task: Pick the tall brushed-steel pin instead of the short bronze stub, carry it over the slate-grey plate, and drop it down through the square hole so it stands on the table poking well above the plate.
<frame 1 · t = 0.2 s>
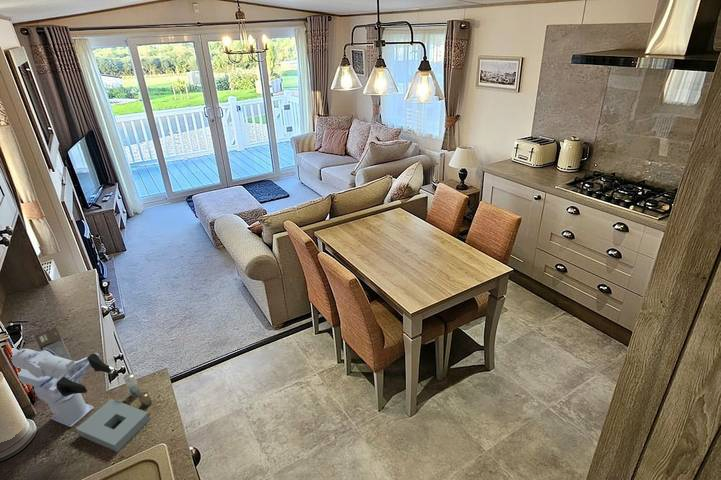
hand: (97, 379, 114), 21 cm above the table, tool horizontal, fingers open, 7 cm apart
hole plate: (115, 427, 125), on the table
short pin: (146, 404, 133), on the table
coffee box: (65, 371, 148), on the table
long pin: (136, 394, 137), on the table
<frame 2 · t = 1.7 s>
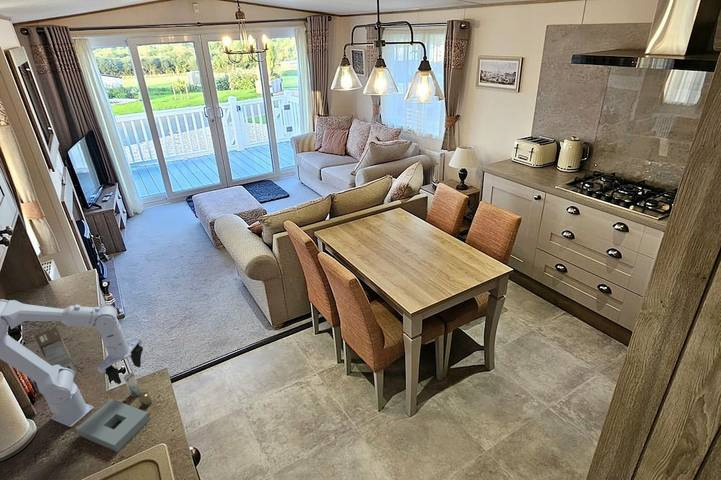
hand: (128, 374, 133), 9 cm above the table, tool pointing down, fingers open, 7 cm apart
nothing on the table moved.
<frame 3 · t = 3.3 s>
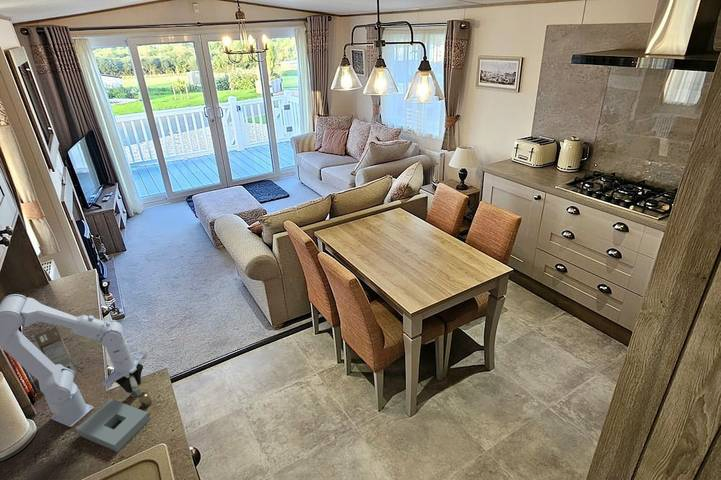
hand: (133, 387, 135), 3 cm above the table, tool pointing down, fingers closed on long pin, 3 cm apart
long pin: (136, 394, 137), on the table, touching gripper
everything else where it was.
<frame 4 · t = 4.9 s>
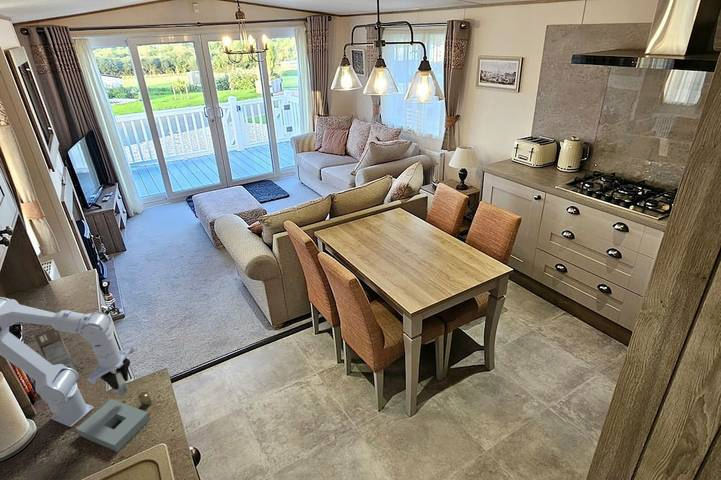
hand: (120, 384, 128), 10 cm above the table, tool pointing down, fingers closed on long pin, 3 cm apart
long pin: (123, 391, 129), point 7 cm above the table, touching gripper
everything else where it was.
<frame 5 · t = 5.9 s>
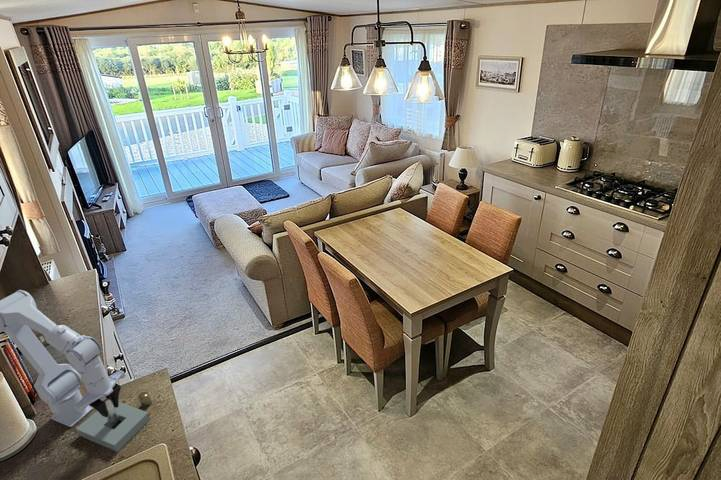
hand: (110, 410, 121), 8 cm above the table, tool pointing down, fingers closed on long pin, 3 cm apart
long pin: (113, 418, 123), point 4 cm above the table, touching gripper
everything else where it was.
when the fingers open (4 cm above the table, at t = 6.7 s): long pin drops 1 cm, resting in hole plate.
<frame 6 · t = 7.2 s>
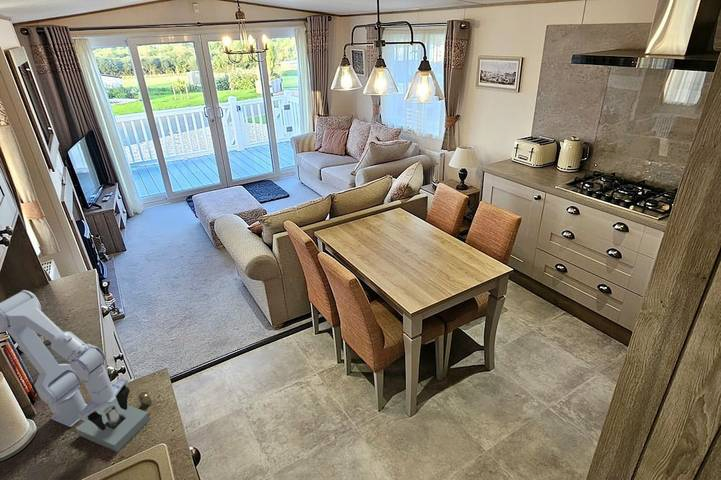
hand: (113, 418, 123), 4 cm above the table, tool pointing down, fingers open, 7 cm apart
long pin: (117, 428, 125), resting in hole plate
everything else where it was.
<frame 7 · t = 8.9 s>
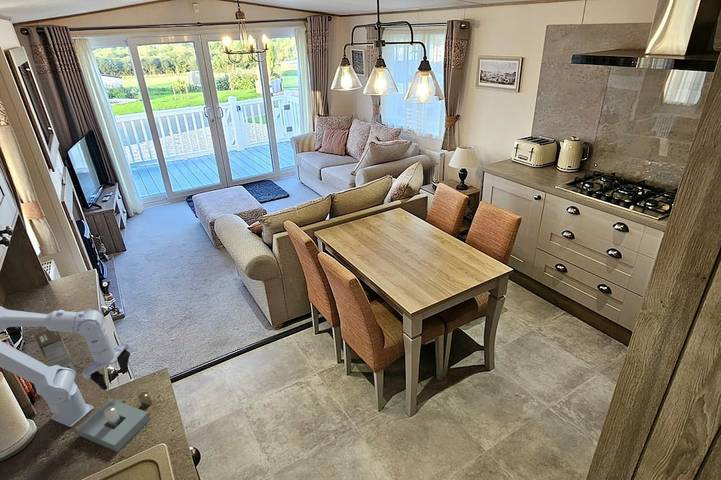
hand: (114, 379, 130), 9 cm above the table, tool pointing down, fingers open, 7 cm apart
nothing on the table moved.
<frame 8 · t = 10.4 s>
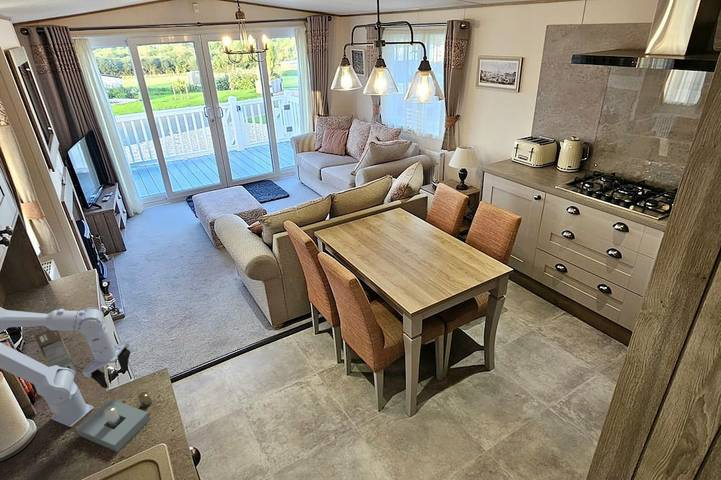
hand: (115, 378, 131), 9 cm above the table, tool pointing down, fingers open, 7 cm apart
nothing on the table moved.
at the end: long pin 0.1 cm from the target spot on the hole plate, point 0.0 cm above the hole plate's base; long pin tilted 0°; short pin moved 0.0 cm from its start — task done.
